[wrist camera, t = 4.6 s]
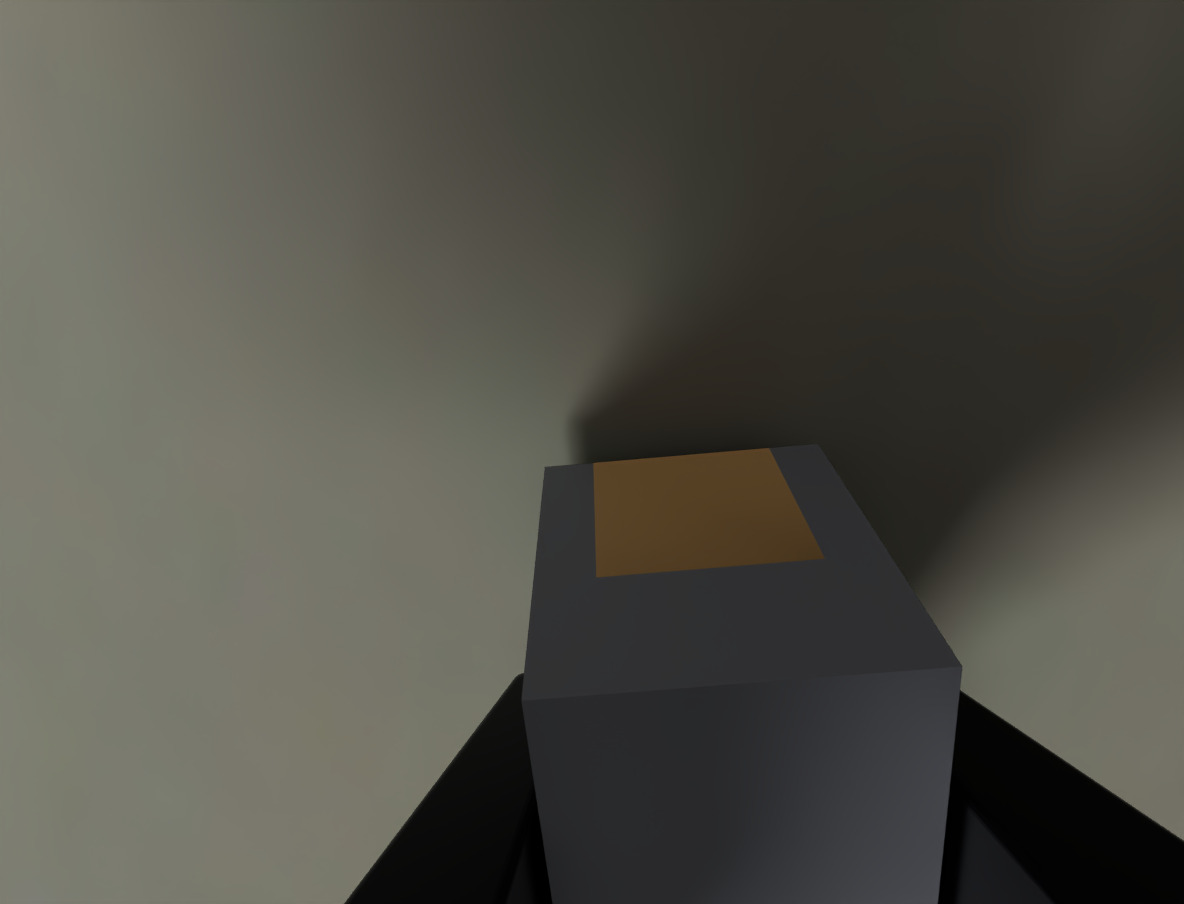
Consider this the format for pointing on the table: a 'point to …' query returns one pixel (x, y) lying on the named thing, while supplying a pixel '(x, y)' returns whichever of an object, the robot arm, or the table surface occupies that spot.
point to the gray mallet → (732, 689)
